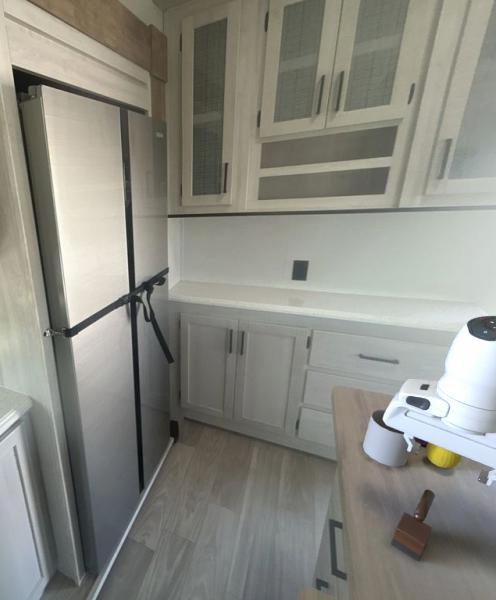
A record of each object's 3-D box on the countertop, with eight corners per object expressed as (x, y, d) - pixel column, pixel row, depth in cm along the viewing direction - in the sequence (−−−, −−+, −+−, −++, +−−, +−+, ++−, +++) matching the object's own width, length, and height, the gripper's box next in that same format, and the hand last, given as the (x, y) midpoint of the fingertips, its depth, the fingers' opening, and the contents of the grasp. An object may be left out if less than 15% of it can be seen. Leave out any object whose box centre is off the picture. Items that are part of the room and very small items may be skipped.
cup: (388, 471, 78) (399, 438, 74) (354, 445, 85) (362, 414, 81) (415, 460, 79) (427, 428, 76) (380, 436, 87) (388, 406, 83)
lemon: (450, 461, 78) (461, 435, 75) (457, 479, 74) (469, 453, 71) (419, 452, 81) (428, 427, 78) (424, 469, 77) (434, 444, 74)
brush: (411, 500, 71) (418, 482, 69) (437, 514, 68) (445, 495, 66) (390, 543, 64) (397, 524, 62) (418, 561, 61) (426, 541, 59)
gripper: (571, 428, 50) (536, 491, 56) (397, 375, 66) (383, 428, 71) (572, 452, 47) (535, 516, 52) (388, 390, 62) (373, 445, 68)
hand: (446, 465), depth 62 cm, fingers open, 8 cm apart
